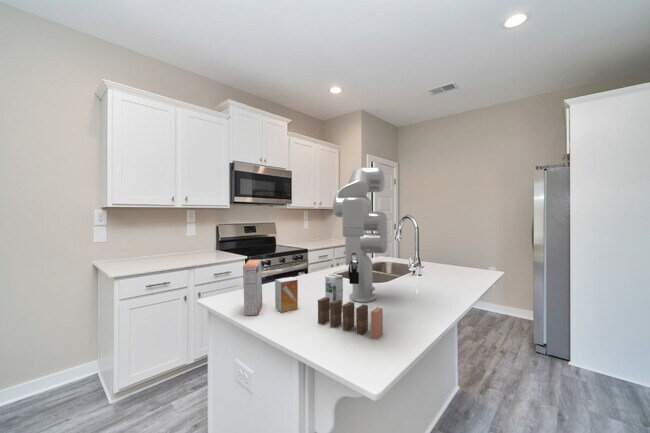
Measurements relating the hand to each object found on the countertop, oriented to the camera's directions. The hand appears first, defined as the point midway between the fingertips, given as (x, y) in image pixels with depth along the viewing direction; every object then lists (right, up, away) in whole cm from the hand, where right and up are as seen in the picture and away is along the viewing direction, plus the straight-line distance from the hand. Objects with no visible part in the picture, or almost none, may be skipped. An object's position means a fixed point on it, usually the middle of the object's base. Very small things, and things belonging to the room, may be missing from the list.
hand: (353, 279), depth 103 cm
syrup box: (-6, -18, +23) cm, 29 cm away
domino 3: (-2, -18, +1) cm, 18 cm away
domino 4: (+3, -18, -2) cm, 18 cm away
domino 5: (+8, -18, -5) cm, 20 cm away
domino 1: (-11, -18, +8) cm, 22 cm away
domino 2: (-6, -18, +5) cm, 19 cm away
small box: (-27, -18, +23) cm, 39 cm away
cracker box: (-41, -18, +22) cm, 50 cm away
